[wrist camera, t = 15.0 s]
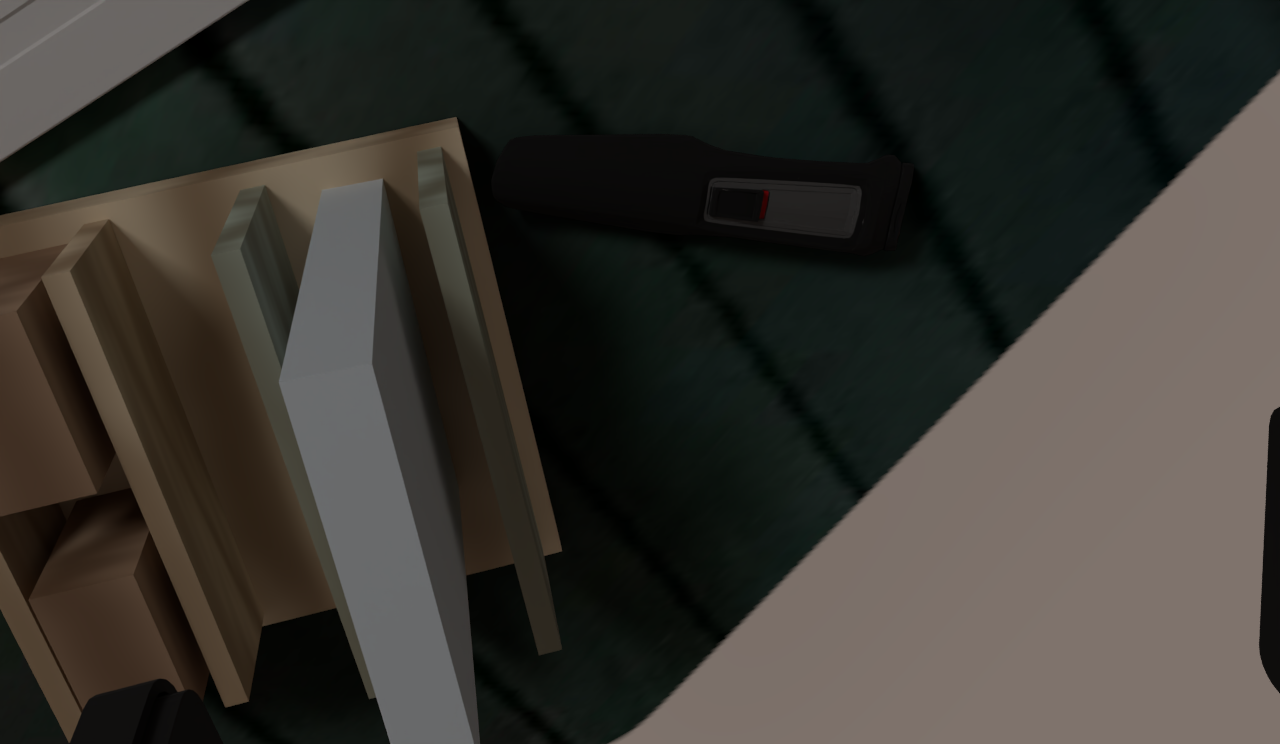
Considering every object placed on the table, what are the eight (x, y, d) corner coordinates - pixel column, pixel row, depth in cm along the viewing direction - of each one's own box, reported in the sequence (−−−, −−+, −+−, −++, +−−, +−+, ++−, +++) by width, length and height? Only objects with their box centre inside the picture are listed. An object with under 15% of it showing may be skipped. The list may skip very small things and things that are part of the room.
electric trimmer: (492, 102, 41) (497, 123, 38) (912, 152, 44) (945, 174, 41) (482, 208, 42) (485, 236, 39) (888, 248, 45) (919, 276, 43)
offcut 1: (70, 242, 38) (15, 311, 33) (137, 405, 41) (97, 493, 35) (-31, 265, 38) (-103, 337, 32) (43, 427, 40) (-12, 519, 35)
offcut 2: (167, 478, 42) (133, 574, 37) (223, 613, 45) (198, 720, 39) (76, 500, 42) (28, 600, 36) (137, 634, 44) (100, 745, 39)
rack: (456, 116, 40) (468, 180, 33) (557, 530, 48) (584, 655, 40) (-120, 241, 38) (-240, 336, 31) (79, 649, 46) (19, 801, 39)
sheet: (382, 178, 39) (371, 363, 26) (458, 487, 44) (482, 775, 31) (321, 190, 39) (278, 382, 25) (405, 498, 44) (405, 793, 31)
